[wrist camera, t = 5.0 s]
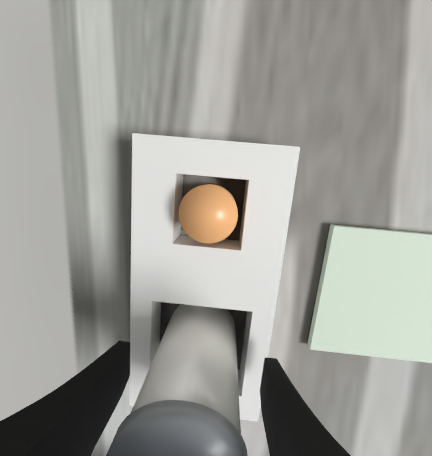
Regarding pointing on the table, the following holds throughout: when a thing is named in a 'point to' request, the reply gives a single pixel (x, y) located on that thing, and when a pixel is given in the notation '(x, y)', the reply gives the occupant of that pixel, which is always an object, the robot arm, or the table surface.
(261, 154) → the housing
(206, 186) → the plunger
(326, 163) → the table surface
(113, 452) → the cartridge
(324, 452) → the robot arm
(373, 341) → the mat
